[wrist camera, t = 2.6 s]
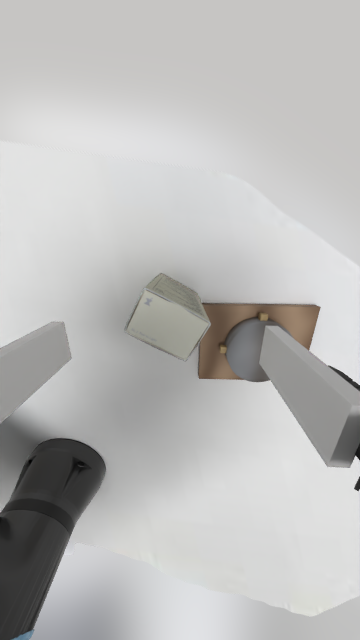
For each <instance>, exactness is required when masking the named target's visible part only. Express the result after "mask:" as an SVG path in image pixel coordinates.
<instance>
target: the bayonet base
mask: <svg viewBox="0 0 360 640" xmlns="http://www.w3.org/2000/svg"><path fill="white" fill-rule="evenodd" d="M202 305H203V307H204V310H205V312H206V314H207V316H208V318H209V321H210V323H211V325H210V327H209V328H208V330H207V331H206V333H205V335H204V336H203V338H202V339H201V341H200V350H199V372H198V375H199V379H238V380H247V381H251V382H264V381H268V380H270V379H269V377H268V376H267V374H266V373H265V371H264V370H263V368H262V367H261V365H260V364H259V361H260V355H261V349H262V343H263V338H264V332H265V326H279V327H280V328H281V329H282V330H284V331H285V332H286V333H287V334H289V335H290V336H291V337H292V338H294V339H295V340H296V341H297V342H299V343H300V344H301V345H302V346H304V347H305V348H306V349H307V350H309V348H310V345H311V341H312V337H313V333H314V329H315V326H316V322H317V318H318V314H319V311H320V307H319V306H316V305H288V304H209V303H202Z"/></svg>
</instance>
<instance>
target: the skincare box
mask: <svg viewBox="0 0 360 640" xmlns="http://www.w3.org/2000/svg"><path fill="white" fill-rule="evenodd" d="M210 325H211V323H210V321H209V318H208V316H207V314H206V312H205V310H204V307H203V305H202V303H201V301H200V298H199V296H198V294H197V293H195V292H194V291H192V290H190V289H189V288H187V287H185V286H184V285H182V284H180V283H178V282H177V281H175V280H173V279H171V278H169V277H167V276H166V275H164V274H162V273H160V274H159V275H158V276H157V277H156V278H155V279H154V280H153V281H151V282H150V283H149V284H148V285H147V286H146V287H145V288H144V289H143V291H142V293H141V295H140V297H139V299H138V301H137V303H136V305H135V307H134V309H133V311H132V313H131V315H130V318H129V320H128V322H127V325H126V327H125V330H124V331H125V333H127V334H129V335H131V336H133V337H135V338H136V339H139V340H141V341H143V342H145V343H147V344H149V345H151V346H153V347H155V348H157V349H159V350H161V351H163V352H166V353H168V354H170V355H172V356H174V357H176V358H178V359H181V360H183V361H187V360H188V358H189V357H190V355H191V354H192V352H193V351H194V349H195V348H196V347H197V345H198V344H199V342H200V341H201V339H202V338H203V336H204V335H205V333H206V331H207V330H208V328H209V327H210Z"/></svg>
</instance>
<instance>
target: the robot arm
mask: <svg viewBox="0 0 360 640" xmlns="http://www.w3.org/2000/svg"><path fill="white" fill-rule="evenodd" d="M71 359H72V357H71V353H70V348H69V343H68V339H67V334H66V330H65V325H64V322H51V323H49V324H47V325H45V326H43V327H41V328H39V329H37V330H35V331H33V332H31V333H29V334H27V335H25V336H24V337H22V338H20V339H18V340H16V341H14V342H12V343H10V344H8V345H6V346H4V347H2V348H0V424H1V423H2V422H3V421H4V420H5V419H6V418H7V417H8V416H9V415H11V414H12V413H13V412H14V411H15V410H16V409H17V408H18V407H19V406H20V405H21V404H23V403H24V402H25V401H26V400H27V399H28V398H29V397H30V396H31V395H32V394H33V393H35V392H36V391H37V390H38V389H39V388H40V387H41V386H42V385H43V384H44V383H45V382H47V381H48V380H49V379H50V378H51V377H52V376H53V375H54V374H55V373H56V372H57V371H59V370H60V369H61V368H62V367H63V366H64V365H65V364H66V363H67V362H68V361H69V360H71ZM259 364H260V365H261V367H262V368H263V370H264V371H265V373H266V374H267V376H268V377H269V379H270V380H271V382H272V383H273V385H274V386H275V388H276V389H277V391H278V392H279V394H280V395H281V397H282V399H283V400H284V402H285V403H286V405H287V406H288V408H289V409H290V411H291V412H292V414H293V415H294V417H295V418H296V420H297V421H298V423H299V424H300V426H301V427H302V429H303V430H304V432H305V433H306V435H307V436H308V438H309V440H310V441H311V443H312V444H313V446H314V447H315V449H316V450H317V452H318V453H319V455H320V456H321V458H322V459H323V461H324V462H325V464H326V465H327V467H343V468H350V466H351V464H352V462H353V460H354V457H355V455H356V456H357V458H358V459H359V460H360V385H358V384H357V383H356V382H353V380H352V379H351V378H349V377H348V376H347V375H345V374H344V373H343V372H341V371H339V370H337V369H335V368H333V367H331V366H327V365H326V364H325V363H323V362H322V361H321V360H320V359H318V358H317V357H316V356H315V355H314V354H312V353H311V352H310V351H309V350H307V349H306V348H305V347H304V346H302V345H301V344H300V343H299V342H297V341H296V340H295V339H294V338H292V337H291V336H290V335H289V334H287V333H286V332H285V331H284V330H282V329H281V328H280V327H279V326H265V332H264V338H263V343H262V349H261V355H260V361H259ZM104 475H105V465H104V462H103V460H102V459H101V457H100V456H99V455H98V454H97V453H96V452H95V451H94V450H93V449H91V448H90V447H88V446H86V445H84V444H82V443H79V442H76V441H73V440H67V439H53V440H49V441H46V442H43V443H41V444H40V445H39V446H37V447H36V449H35V450H34V451H33V453H32V454H31V455H30V456H29V458H28V459H27V461H26V463H25V465H24V467H23V470H22V472H21V474H20V477H19V479H18V481H17V484H16V486H15V489H14V491H13V493H12V496H11V498H10V500H9V502H8V503H7V504H6V506H5V507H4V509H3V510H2V512H1V513H0V640H29V639H30V638H31V636H32V634H33V631H34V630H33V628H34V626H35V623H36V621H37V618H38V616H39V613H40V611H41V608H42V606H43V603H44V601H45V598H46V596H47V593H48V591H49V588H50V586H51V584H52V581H53V579H54V576H55V574H56V571H57V569H58V566H59V563H60V561H61V558H62V556H63V554H64V551H65V549H66V546H67V544H68V541H69V539H70V536H71V534H72V531H73V529H74V526H75V524H76V522H77V520H78V519H79V517H80V516H81V515H82V513H83V512H84V510H85V509H86V507H87V506H88V504H89V503H90V501H91V500H92V498H93V497H94V495H95V494H96V493H97V491H98V489H99V488H100V485H101V483H102V480H103V477H104ZM354 489H355V490H357V491H359V489H360V477H359V479H358V481H357V483H356V485H355V488H354Z"/></svg>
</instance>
